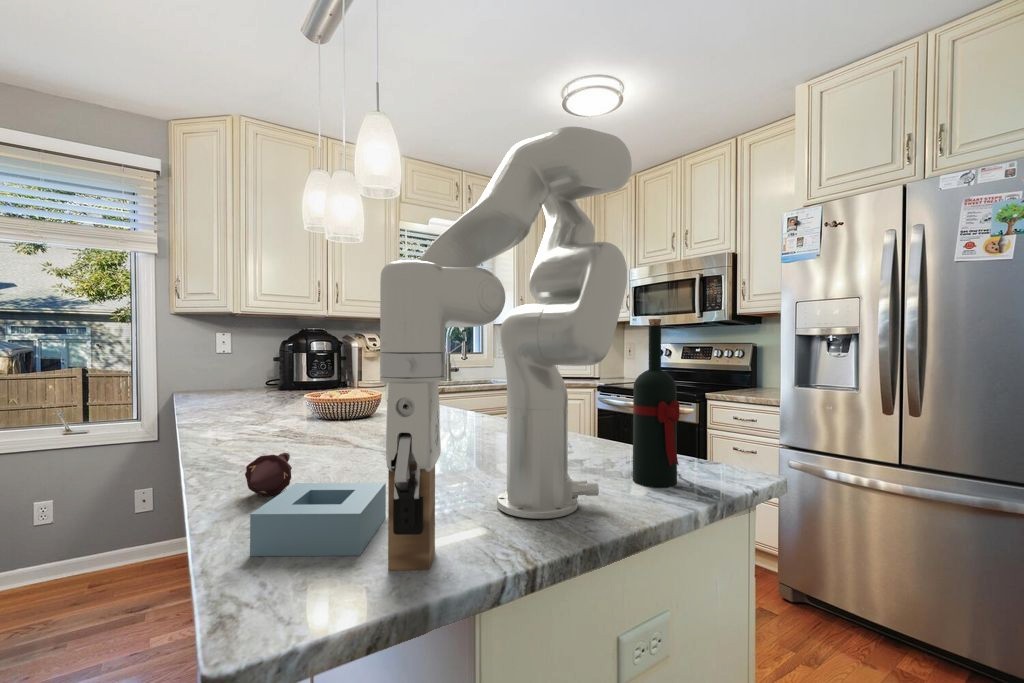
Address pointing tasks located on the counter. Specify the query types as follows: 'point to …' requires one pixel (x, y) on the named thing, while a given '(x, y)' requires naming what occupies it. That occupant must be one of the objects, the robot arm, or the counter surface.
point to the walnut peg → (413, 548)
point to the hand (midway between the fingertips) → (412, 523)
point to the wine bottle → (655, 420)
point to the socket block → (318, 520)
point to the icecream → (269, 474)
